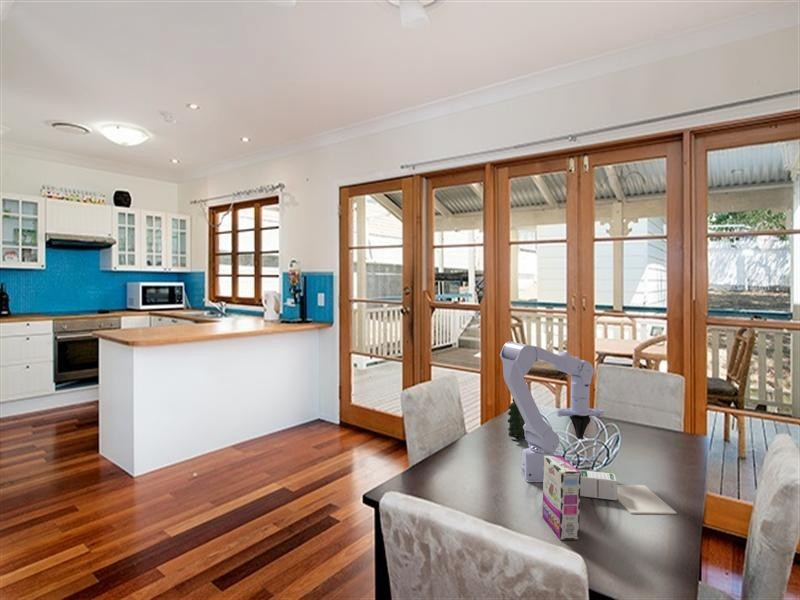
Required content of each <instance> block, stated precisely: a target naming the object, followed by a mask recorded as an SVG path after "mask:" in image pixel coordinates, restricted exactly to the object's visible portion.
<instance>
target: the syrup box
mask: <svg viewBox="0 0 800 600" xmlns="http://www.w3.org/2000/svg"><path fill="white" fill-rule="evenodd" d="M576 469H577V470H578V471H580V472H581V480H580V497H587V498H593V499H602V500H610V501H618V500H617V485H618V480H617V476H616V473H615V472H611V471H601V470H590V469H581V468H576Z"/></svg>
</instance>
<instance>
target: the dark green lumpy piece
mask: <svg viewBox="0 0 800 600" xmlns="http://www.w3.org/2000/svg"><path fill="white" fill-rule="evenodd" d="M508 409H509V411H508V412H507V415H508V416H509V418H508V419H507V423H509V427H508V428H507V430H508V436H509V437H510V438H513V437H515V436H516V437H518V438H519V439H524V437H525V432H524V429H523V426H524V424H525V421H524V419H523V417H522V415H521V413H520V411H519V409H518V407H517V405H516V403H515V401H514V399H513V398H512V402H511V403H510V405H509V406H508Z"/></svg>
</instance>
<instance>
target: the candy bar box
mask: <svg viewBox="0 0 800 600" xmlns="http://www.w3.org/2000/svg"><path fill="white" fill-rule="evenodd" d="M577 469H578V468H576V467H575V466H573V465H572V464H571V463H570V462H569V461H568V460H567V459H566V458H565V457H563V456H562V455H558V454H557V455H551V456H544V470H543V482H542V486H543V487H542V518H543V519H544V521H545V522H546V523H547V525H548V526H549V527H550V528H551V529H552V531H553V532H554V533H555V535H556V536H557V537H558V539H559V540H560V541H566V540H567V541H574V540H576V541H577V540H580V509H581V507H580V505H581V496H580V480H581V472H580V471H578V470H577Z"/></svg>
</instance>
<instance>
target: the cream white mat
mask: <svg viewBox="0 0 800 600" xmlns="http://www.w3.org/2000/svg"><path fill="white" fill-rule="evenodd" d="M616 501H618V502H619V503H620V504H621V505H622V506H623V508H625V510H626V511H627V512H628V513H629V514H630V515H632V514H633V515H637V514H638V515H639V514H640V515H678V514H677V511H675V510H674V509H673V508H672V507H671V506H669V505H668V504H667V503H666V502H665V501H664V500H662V499H661V498H660V497H659V496H658V495H657V494H655V493H654V492H653V491H652V490H651V489H649V488H648V487H647V486H646V485H645V484H617V500H616Z"/></svg>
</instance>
